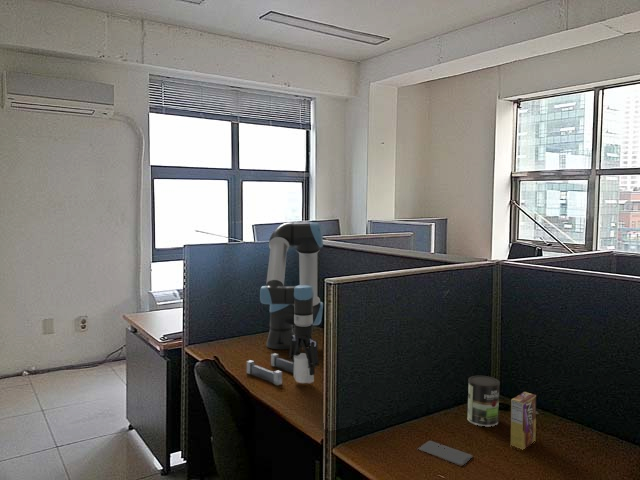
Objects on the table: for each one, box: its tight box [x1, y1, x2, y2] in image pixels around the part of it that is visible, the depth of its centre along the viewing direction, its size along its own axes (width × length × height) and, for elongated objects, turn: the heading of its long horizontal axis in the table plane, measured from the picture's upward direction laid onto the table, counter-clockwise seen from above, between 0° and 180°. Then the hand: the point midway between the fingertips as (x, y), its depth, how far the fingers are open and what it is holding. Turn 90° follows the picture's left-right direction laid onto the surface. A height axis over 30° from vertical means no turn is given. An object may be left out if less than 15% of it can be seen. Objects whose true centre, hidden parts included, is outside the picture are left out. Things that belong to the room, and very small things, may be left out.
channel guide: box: [246, 352, 294, 386], centre depth 223 cm, size 16×20×5 cm
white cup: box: [294, 352, 309, 384], centre depth 210 cm, size 8×8×10 cm
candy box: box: [510, 391, 537, 450], centre depth 161 cm, size 9×4×15 cm, turn 133°
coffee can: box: [466, 375, 501, 428], centre depth 178 cm, size 10×10×14 cm
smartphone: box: [417, 440, 474, 466], centre depth 156 cm, size 8×1×15 cm
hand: (303, 379), depth 211 cm, fingers closed on white cup, 7 cm apart
